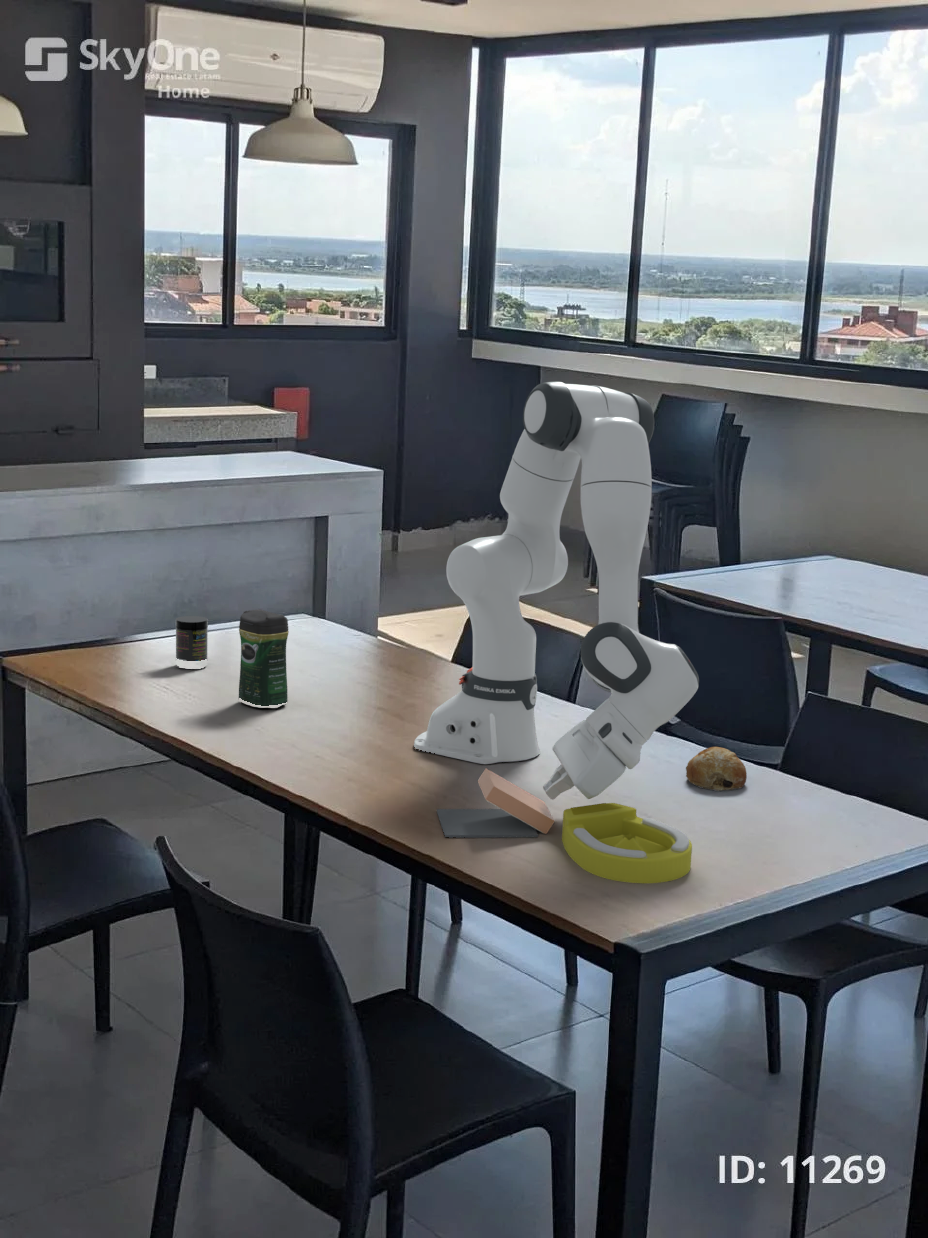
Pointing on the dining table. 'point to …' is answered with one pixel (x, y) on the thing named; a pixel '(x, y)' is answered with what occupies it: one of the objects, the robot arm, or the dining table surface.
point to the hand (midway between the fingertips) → (547, 794)
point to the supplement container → (191, 638)
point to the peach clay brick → (515, 801)
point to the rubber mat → (482, 824)
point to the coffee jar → (263, 657)
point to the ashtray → (625, 844)
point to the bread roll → (716, 770)
